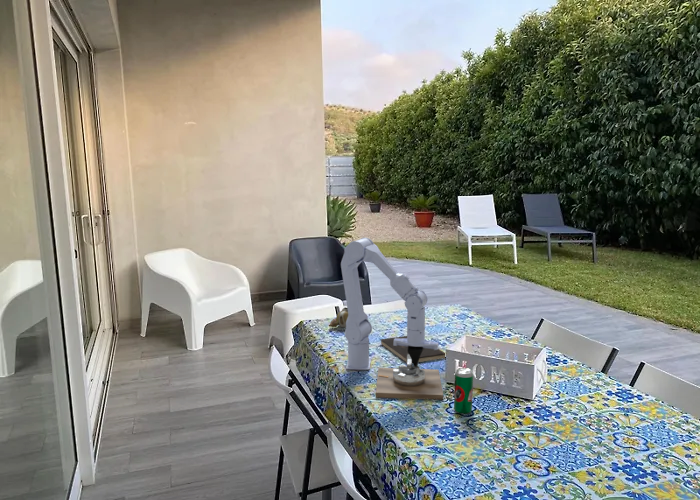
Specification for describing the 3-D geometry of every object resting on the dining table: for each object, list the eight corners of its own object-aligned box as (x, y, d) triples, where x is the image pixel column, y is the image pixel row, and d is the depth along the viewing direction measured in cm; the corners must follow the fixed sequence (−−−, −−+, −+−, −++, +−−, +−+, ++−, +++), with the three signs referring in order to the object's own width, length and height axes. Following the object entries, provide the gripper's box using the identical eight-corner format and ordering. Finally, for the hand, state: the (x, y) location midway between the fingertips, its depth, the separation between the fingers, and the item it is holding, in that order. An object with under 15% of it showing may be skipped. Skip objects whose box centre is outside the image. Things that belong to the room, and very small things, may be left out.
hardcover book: (407, 365, 195) (407, 359, 195) (379, 345, 216) (380, 339, 216) (447, 359, 201) (447, 353, 201) (416, 340, 222) (416, 334, 222)
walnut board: (378, 372, 188) (378, 367, 188) (438, 373, 186) (438, 369, 186) (375, 397, 168) (375, 392, 168) (443, 399, 167) (443, 394, 166)
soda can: (472, 415, 157) (473, 375, 155) (453, 414, 158) (454, 373, 156) (471, 407, 161) (473, 368, 159) (453, 406, 162) (455, 366, 160)
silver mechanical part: (424, 387, 172) (425, 376, 171) (392, 385, 173) (392, 374, 172) (424, 364, 190) (424, 354, 190) (394, 363, 191) (395, 353, 191)
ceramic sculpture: (362, 303, 241) (350, 314, 228) (363, 322, 243) (351, 334, 230) (339, 301, 245) (326, 312, 231) (340, 320, 247) (327, 332, 233)
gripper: (440, 326, 184) (439, 366, 186) (397, 322, 189) (397, 361, 191) (436, 333, 177) (435, 374, 180) (391, 328, 182) (391, 368, 184)
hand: (415, 368), depth 185 cm, fingers closed
